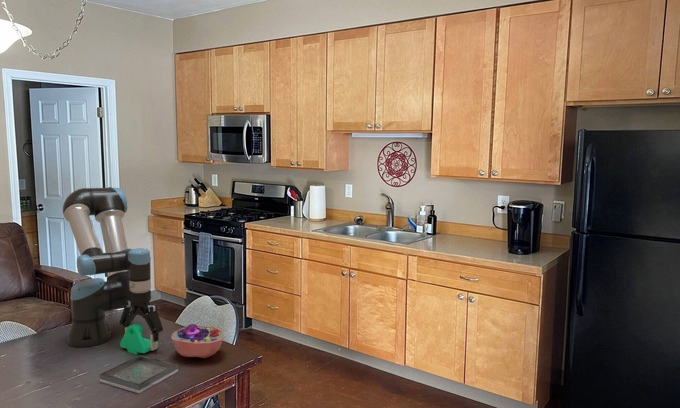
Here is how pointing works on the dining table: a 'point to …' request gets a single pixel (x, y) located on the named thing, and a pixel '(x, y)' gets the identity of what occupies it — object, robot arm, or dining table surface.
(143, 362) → the plate
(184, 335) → the cell model
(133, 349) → the camera mount
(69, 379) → the dining table surface
